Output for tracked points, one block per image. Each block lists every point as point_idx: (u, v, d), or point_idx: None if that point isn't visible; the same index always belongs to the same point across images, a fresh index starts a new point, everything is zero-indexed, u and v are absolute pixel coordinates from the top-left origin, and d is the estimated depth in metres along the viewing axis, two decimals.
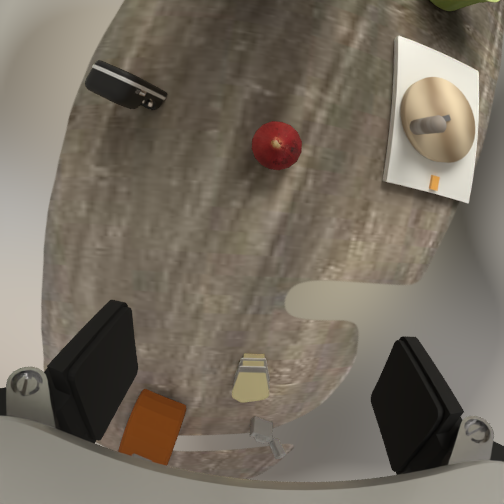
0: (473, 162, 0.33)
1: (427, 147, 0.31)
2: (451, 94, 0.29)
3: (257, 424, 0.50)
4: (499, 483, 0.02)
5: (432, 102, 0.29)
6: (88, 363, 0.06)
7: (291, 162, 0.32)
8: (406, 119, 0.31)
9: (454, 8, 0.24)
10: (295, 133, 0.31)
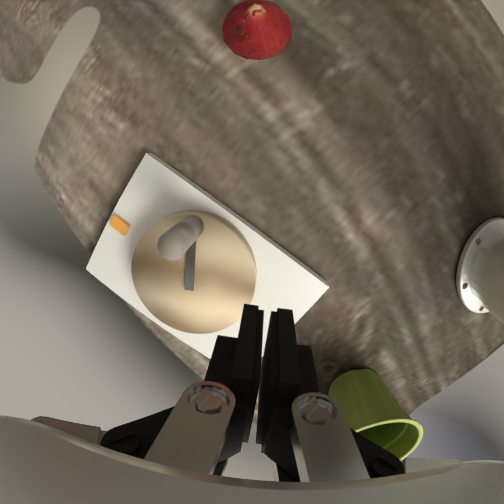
0: (128, 300, 0.31)
1: (160, 229, 0.26)
2: (219, 313, 0.28)
3: None
4: (499, 483, 0.02)
5: (217, 272, 0.27)
6: (260, 367, 0.07)
7: (225, 28, 0.19)
8: (209, 217, 0.25)
9: (331, 395, 0.32)
10: (258, 47, 0.19)
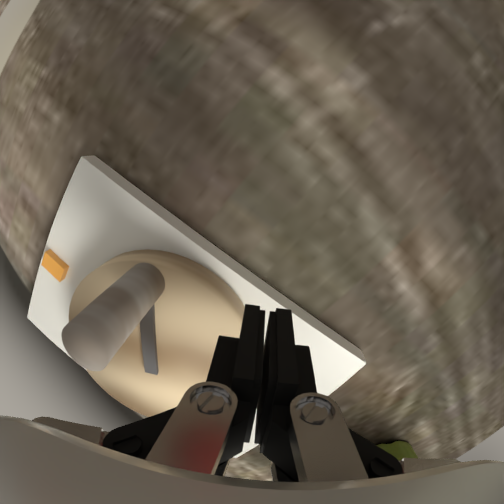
0: None
1: (98, 282, 0.15)
2: None
3: None
4: (499, 483, 0.02)
5: (192, 353, 0.15)
6: (261, 367, 0.07)
7: None
8: (173, 267, 0.14)
9: None
10: None
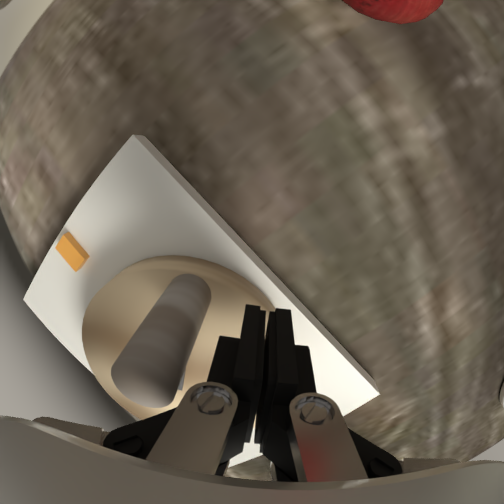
0: (80, 358, 0.18)
1: (129, 289, 0.13)
2: None
3: None
4: (499, 483, 0.02)
5: None
6: (262, 367, 0.07)
7: None
8: (222, 281, 0.13)
9: None
10: None
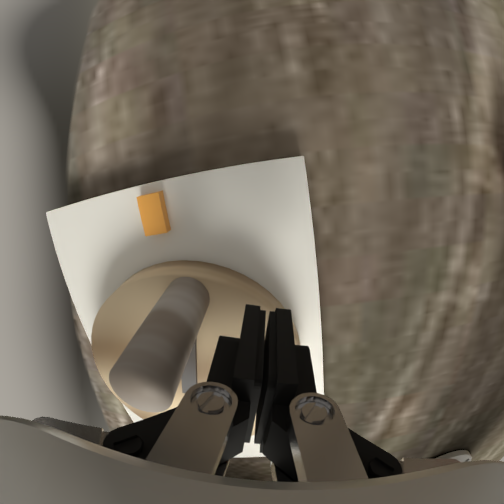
0: (79, 306, 0.16)
1: (129, 300, 0.13)
2: None
3: None
4: (499, 483, 0.02)
5: None
6: (262, 367, 0.07)
7: None
8: (218, 280, 0.13)
9: None
10: None
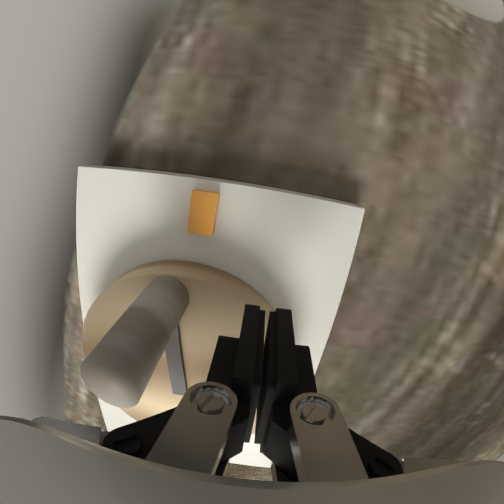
0: (82, 274, 0.16)
1: (113, 302, 0.13)
2: None
3: None
4: (499, 483, 0.02)
5: None
6: (261, 367, 0.07)
7: None
8: (196, 277, 0.13)
9: None
10: None
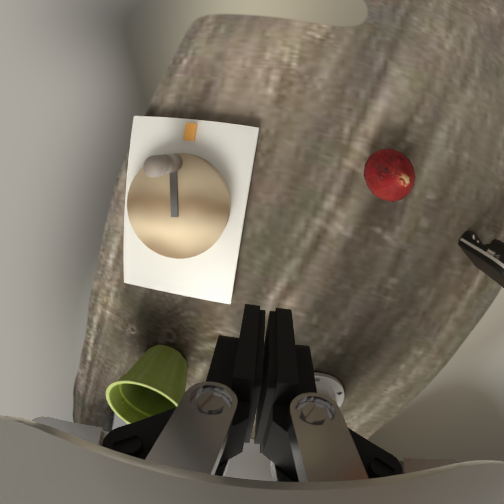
0: (130, 166, 0.33)
1: None
2: (201, 235, 0.33)
3: None
4: (499, 483, 0.02)
5: (196, 198, 0.31)
6: (261, 367, 0.07)
7: (382, 155, 0.27)
8: (186, 154, 0.30)
9: (153, 351, 0.41)
10: (376, 186, 0.28)
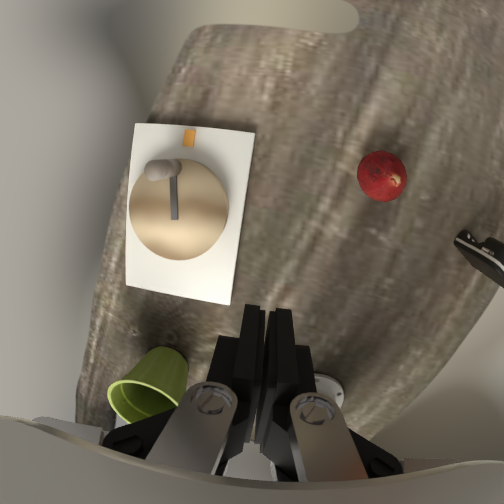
0: (132, 172, 0.34)
1: None
2: (200, 237, 0.34)
3: None
4: (499, 483, 0.02)
5: (195, 202, 0.33)
6: (261, 367, 0.07)
7: (374, 157, 0.29)
8: (185, 159, 0.32)
9: (154, 352, 0.42)
10: (369, 187, 0.30)
